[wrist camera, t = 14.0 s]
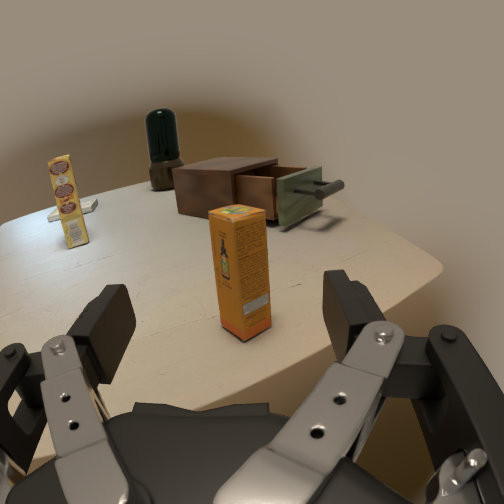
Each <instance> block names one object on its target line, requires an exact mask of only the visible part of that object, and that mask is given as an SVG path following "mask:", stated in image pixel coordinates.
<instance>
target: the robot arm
mask: <svg viewBox="0 0 504 504" xmlns="http://www.w3.org/2000/svg"><path fill="white" fill-rule="evenodd" d="M323 317H324V321H325V324H326V327H327V330H328V334H329V337H330V340H331V343H332V346H333V349H334V352H335V355H336V359H337V361H335V362H334V363H332V365H331V366H330V367H329V369H328V370H327V371H326V373H325V374H324V375H323V377H322V378H321V379H320V381H319V382H318V383H317V385H316V386H315V387H314V389H313V390H312V392H311V393H310V394H309V395H308V397H307V398H306V399H305V401H304V402H303V403H302V405H301V406H300V407H299V408H298V410H297V411H296V412H295V413H294V415H293V416H292V417H288V416H285V415H281V414H277V413H271V412H269V403H256V404H233V405H229V406H224V407H220V408H216V409H210V410H205V411H199V412H196V411H191V410H187V409H183V408H179V407H175V406H171V405H167V404H154V403H138V402H135V404H134V407H133V410H132V412H128V413H123V414H120V415H117V416H115V417H112V418H111V417H110V414H109V412H108V410H107V408H106V406H105V403H104V401H103V399H102V396H101V394H100V392H99V390H98V388H97V387H98V384H99V383H100V384H111V382H112V380H113V378H114V375H115V373H116V371H117V368H118V366H119V364H120V362H121V359H122V357H123V355H124V353H125V350H126V348H127V346H128V344H129V342H130V339H131V337H132V335H133V333H134V331H135V328H136V318H135V314H134V310H133V307H132V304H131V300H130V297H129V294H128V290H127V288H126V286H125V285H124V284H114V285H106V287H105V288H104V289H103V291H102V292H101V293H100V295H99V296H98V297H96V298H95V299H93V300H92V301H91V302H89V303H88V304H87V306H86V307H85V308H84V310H83V312H82V313H81V314H80V315H79V318H77V320H76V321H75V322H74V324H73V325H72V327H71V328H70V330H69V331H68V332H67V334H66V335H60V336H56V337H53V338H52V339H50V340H48V341H47V342H46V343H45V344H44V345H43V347H42V349H41V352H36V353H30V354H28V352H27V350H26V348H25V347H24V345H23V344H21V343H14V344H11V345H8V346H7V347H5V348H4V349H2V350H1V352H0V504H413V503H412V502H411V501H410V500H408V499H407V498H405V497H404V496H402V495H401V494H399V493H397V492H396V491H395V490H393V489H392V488H390V487H388V486H387V485H386V484H384V483H383V482H381V481H380V480H378V479H377V478H375V477H374V476H373V475H371V474H370V473H368V472H367V471H365V470H364V469H363V468H361V467H360V466H359V465H357V464H356V463H355V461H356V460H357V458H358V456H359V454H360V452H361V450H362V448H363V446H364V444H365V442H366V440H367V438H368V435H369V434H370V432H371V430H372V428H373V426H374V424H375V422H376V420H377V418H378V416H379V414H380V412H381V410H382V408H383V406H384V404H385V402H386V400H387V398H388V397H393V398H410V399H411V402H412V404H413V407H414V410H415V413H416V415H417V418H418V421H419V424H420V427H421V429H422V432H423V435H424V438H425V441H426V444H427V447H428V450H429V453H430V456H431V459H432V463H433V466H434V469H435V472H436V473H435V474H434V475H433V477H432V478H431V479H430V480H429V482H428V484H427V486H426V489H425V497H426V501H425V504H504V394H503V392H502V391H501V389H500V387H499V386H498V384H497V382H496V381H495V379H494V378H493V376H492V374H491V372H490V371H489V369H488V368H487V366H486V365H485V363H484V362H483V360H482V358H481V357H480V355H479V354H478V352H477V351H476V349H475V348H474V346H473V345H472V343H471V342H470V341H469V339H468V338H467V336H466V335H465V333H464V332H463V331H462V330H460V329H459V328H457V327H454V326H451V325H438V326H435V327H433V328H432V329H431V330H430V332H429V335H428V337H411V336H406V335H405V333H404V331H403V329H402V328H401V327H400V326H398V325H396V324H394V323H392V322H389V321H386V319H385V317H384V316H383V314H382V312H381V310H380V309H379V307H378V305H377V304H376V302H375V300H374V299H373V297H372V296H371V294H370V292H369V290H368V289H367V287H366V286H365V285H363V284H362V283H360V282H359V281H350V280H349V278H348V276H347V275H346V273H345V271H344V270H343V269H342V270H331V271H325V272H324V279H323ZM14 390H16V391H17V393H18V394H19V396H20V397H21V399H22V400H21V402H20V404H19V406H18V408H17V410H16V412H15V414H14V416H13V417H12V416H11V415H10V413H9V411H8V401H9V399H10V397H11V396H12V394H13V392H14ZM47 421H48V425H49V429H50V433H51V437H52V441H53V445H54V449H55V452H56V456H55V457H54V458H52V459H51V460H50V461H48V462H46V463H45V464H44V465H42V466H41V467H39V468H38V469H36V470H35V471H34V472H32V473H30V474H29V475H27V472H28V469H29V466H30V464H31V461H32V458H33V456H34V453H35V450H36V448H37V445H38V443H39V440H40V438H41V435H42V433H43V430H44V428H45V426H46V423H47ZM26 475H27V476H26Z"/></svg>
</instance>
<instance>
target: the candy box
mask: <svg viewBox="0 0 504 504" xmlns="http://www.w3.org/2000/svg"><path fill="white" fill-rule="evenodd" d="M48 167H49V172H50V177H51V182H52V187H53V191H54V196H55V200H56V204H57V208H58V212H59V216H60V220H61V223H62V227H63V231H64V234H65V238H66V241H67V245H68V248H69V249H70V248H73V247H76V246H79V245H82V244H85V243H88V242H89V239H88V235H87V231H86V226H85V222H84V218H83V213H82V209H81V205H80V200H79V196H78V191H77V186H76V182H75V177H74V172H73V167H72V162H71V158H70V155H65V156H61V157H58V158H55V159H52V160H50V161H48Z"/></svg>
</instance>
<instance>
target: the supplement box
mask: <svg viewBox="0 0 504 504" xmlns="http://www.w3.org/2000/svg"><path fill="white" fill-rule="evenodd" d="M209 224H210V234H211V243H212V252H213V261H214V270H215V278H216V286H217V295H218V303H219V310H220V318H221V324H222V326H223V327H225V328H226V329H228V330H229V331H231V332H232V333H234V334H235V335H237V336H238V337H239V338H241V339H242V340H243V341H246V340H248V339H250V338H252V337H253V336H255V335H257V334H258V333H260V332H262V331H264V330H265V329H267V328H268V327H270V326H271V306H270V285H269V269H268V250H267V234H266V217H265V210H263V209H259V208H254V207H249V206H245V205H239V204H238V205H231V206H226V207H222V208H218V209H215V210H212V211H209Z"/></svg>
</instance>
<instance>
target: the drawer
mask: <svg viewBox="0 0 504 504" xmlns="http://www.w3.org/2000/svg"><path fill="white" fill-rule="evenodd" d="M234 182H235V192H236V202H237V205H238V204H239V205H245V206H249V207H254V208H259V209H263V210H265V217H266V219H269V220H276V219H278V218H279V225H281V226H287V225H289V224H291V223H293V222H295V221H296V220H298V219H300V218H302V217H304V216H305V215H307V214H309V213H311V212H313V211H314V210H316V209H318V208H320V207H322V206H323V199H325V198H327V197H328V196H330V195H332V194H334V193H336V192H338V191H340V190H342V189H343V188H344V182H343V181H342V180H336V181H334V182H325V181H322V167H321V166H315V167H312V168H308V169H307V168H306V167H294V166H293V167H292V166H277V165H266V166H263V167H259V168H255V169H252V170H248V171H245V172H241V173H238V174H234ZM322 186H323V187H322Z"/></svg>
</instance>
